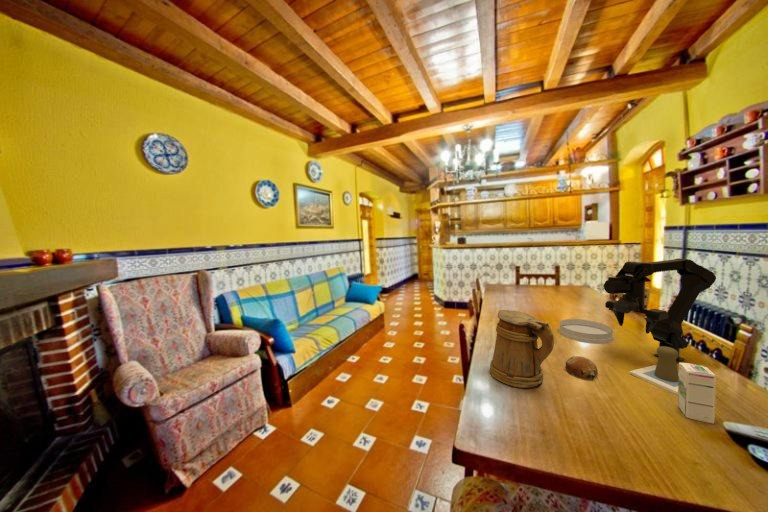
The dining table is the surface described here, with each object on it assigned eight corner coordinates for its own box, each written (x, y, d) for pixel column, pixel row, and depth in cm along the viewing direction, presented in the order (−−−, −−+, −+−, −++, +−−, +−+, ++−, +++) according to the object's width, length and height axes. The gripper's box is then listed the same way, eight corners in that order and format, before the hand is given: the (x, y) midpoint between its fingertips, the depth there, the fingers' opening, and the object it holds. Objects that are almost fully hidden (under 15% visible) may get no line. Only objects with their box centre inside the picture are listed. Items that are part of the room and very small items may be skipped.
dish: (625, 343, 123) (626, 333, 122) (579, 345, 123) (579, 335, 123) (589, 326, 145) (589, 317, 144) (549, 328, 145) (549, 320, 145)
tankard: (506, 359, 114) (505, 304, 112) (566, 383, 94) (567, 317, 92) (480, 372, 104) (479, 313, 102) (541, 403, 85) (540, 330, 82)
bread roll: (594, 379, 101) (592, 358, 104) (603, 381, 93) (600, 358, 95) (564, 375, 106) (562, 354, 108) (569, 376, 97) (567, 354, 99)
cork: (684, 382, 89) (685, 352, 88) (663, 381, 90) (664, 351, 89) (669, 373, 95) (670, 344, 94) (649, 372, 96) (650, 343, 95)
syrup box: (715, 424, 72) (718, 375, 71) (684, 417, 75) (686, 370, 74) (704, 412, 77) (707, 365, 75) (676, 406, 80) (678, 361, 79)
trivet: (655, 367, 101) (655, 364, 101) (707, 387, 88) (707, 384, 88) (629, 373, 98) (629, 371, 98) (679, 395, 84) (679, 392, 84)
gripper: (595, 290, 112) (595, 324, 114) (648, 300, 94) (647, 341, 96) (615, 287, 115) (614, 321, 116) (670, 296, 97) (668, 336, 98)
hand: (633, 329), depth 107 cm, fingers open, 9 cm apart
